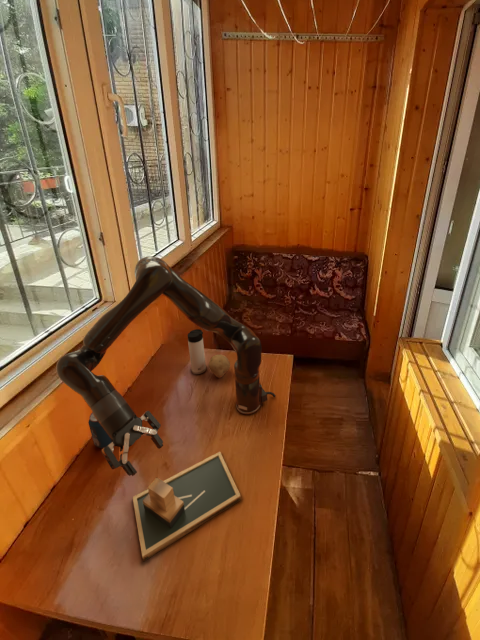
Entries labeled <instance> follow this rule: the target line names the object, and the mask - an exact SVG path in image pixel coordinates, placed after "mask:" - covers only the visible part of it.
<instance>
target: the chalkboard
mask: <svg viewBox="0 0 480 640" xmlns="http://www.w3.org/2000/svg"><path fill="white" fill-rule="evenodd" d="M162 481H163V482H165V483H166V484H168V485H169V486H171V487H172V488H173V492H174V495H175V496H176V497H178V498H179V499H180V500H182V501H183V502H184V508H185V510H184V512H183V513H182V515H181V516H180V517H179V519H178V520H177V521H176V523H175V524H174V525H173V527H172V528H171V529H170V528H169V527H168V526H166V525H165V524H164V523H162V522H161V521H160V520H158V519H157V518H156V517H154V516H153V515H151V514H150V513H149V512H147V511H146V510H145V509H144V505H143V500H144V499H145V497H146V496H147V495H148V494H149V491H148V488H147V489H145V490H144V491H141V492H140V493H138V494H136V495H134V496H132V503H133V509H134V516H135V521H136V526H137V534H138V539H139V545H140V554H141V558H142V562H145V561H146V560H149V559H150V558H152V557H153V556H155V555H157V554H158V553H160V552H162V551H163V550H164V549H166V548H168V547H170V545H172V544H174V543H176V542H177V541H179V540H180V539H182V538H183V537H185V536H186V535H188V534H191V532H193V531H194V530H196V529H198V528H200V527H201V526H202V525H204V524H205V523H208V522H209V521H210V520H212V519H213V518H215V517H217V516H218V515H220V514H222V513H223V512H225V511H227V510H228V509H229V508H231V507H233V506H234V505H236V504H237V503H239V502H240V501H241V500H242V498H241V497H242V496H241V493H240V491H239V489H238V487H237V485H236V483H235V481H234V478H233V476H232V474H231V471H230V470H229V468H228V465H227V463H226V461H225V459H224V457H223V454H222V452H221V451H218V452H216V453H214V454H212V455H210V456H208V457H207V458H204V459H203V460H201V461H199V462H197V463H195V464H193V465H191V466H189V467H188V468H185V469H183V470H181V471H180V472H178V473H176V474H173V475H172V476H170V477H168V478H166V479H164V480H162Z"/></svg>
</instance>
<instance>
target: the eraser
mask: <svg viewBox="0 0 480 640" xmlns="http://www.w3.org/2000/svg"><path fill="white" fill-rule="evenodd" d="M163 481H164V480H162V479H161V478H159V477H155V478H154V480H153V481H151V483H150V484H149V485H148V486H147V489H148V491H149V494H148V495H147V496H146V497H145V499H144V500H143V505H144V509H145V510H146V511H147V512H149V513H150V514H151V515H153V516H154V517H156V518H157V519H158V520H160V521H161V522H162V523H164V524H165V525H166V526H168V527H169V528H170V529H171V528H172V527H173V525H174V524H175V523H176V521H177V520H178V519H179V517H180V516H181V515H182V513H183V512H184V510H185V508H184V502H183V501H182V500H180V499H179V498H178V497H176V496H175V495H174V492H173V488H172V487H171V486H169V485H168V484H166V483H165V482H163Z"/></svg>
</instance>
